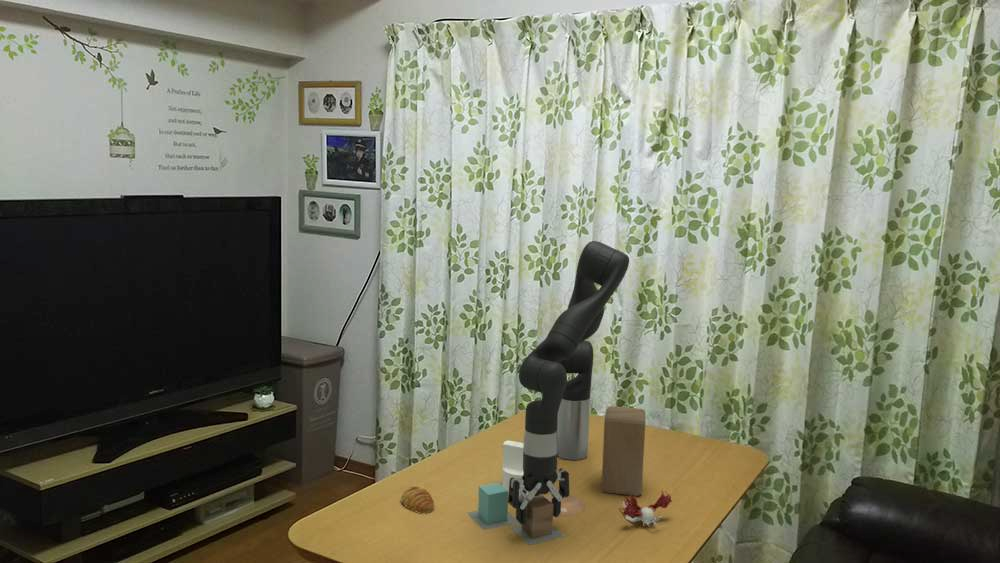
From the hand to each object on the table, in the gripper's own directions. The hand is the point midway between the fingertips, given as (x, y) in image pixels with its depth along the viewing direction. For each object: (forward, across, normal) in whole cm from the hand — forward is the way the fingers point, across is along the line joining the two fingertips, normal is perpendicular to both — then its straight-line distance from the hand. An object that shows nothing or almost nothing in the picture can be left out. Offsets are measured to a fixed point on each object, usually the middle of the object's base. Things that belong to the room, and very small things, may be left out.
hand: (538, 519), depth 159 cm
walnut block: (+3, 0, 0) cm, 3 cm away
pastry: (+4, +19, -24) cm, 31 cm away
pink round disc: (+3, -12, -9) cm, 16 cm away
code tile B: (+3, +6, -10) cm, 12 cm away
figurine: (+4, -25, +5) cm, 26 cm away
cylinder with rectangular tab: (+3, -7, -21) cm, 23 cm away
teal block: (+3, +6, -10) cm, 12 cm away
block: (+3, -32, -12) cm, 34 cm away
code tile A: (+3, 0, 0) cm, 3 cm away
